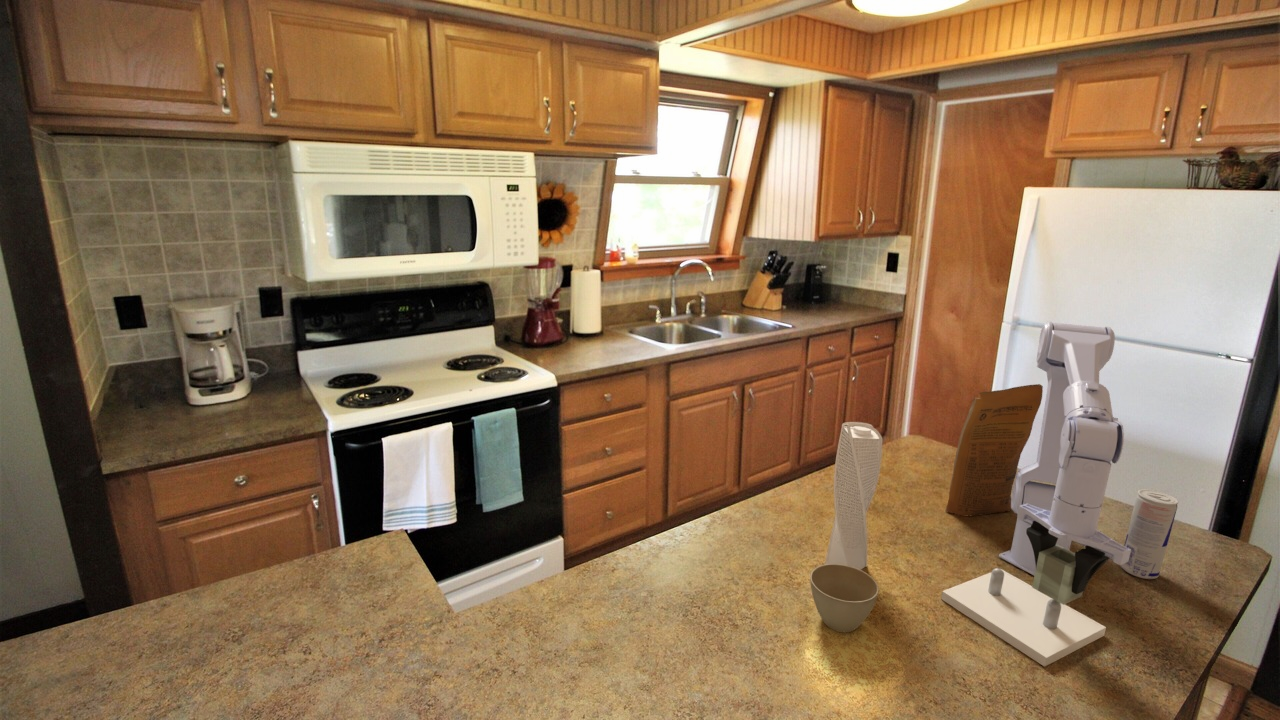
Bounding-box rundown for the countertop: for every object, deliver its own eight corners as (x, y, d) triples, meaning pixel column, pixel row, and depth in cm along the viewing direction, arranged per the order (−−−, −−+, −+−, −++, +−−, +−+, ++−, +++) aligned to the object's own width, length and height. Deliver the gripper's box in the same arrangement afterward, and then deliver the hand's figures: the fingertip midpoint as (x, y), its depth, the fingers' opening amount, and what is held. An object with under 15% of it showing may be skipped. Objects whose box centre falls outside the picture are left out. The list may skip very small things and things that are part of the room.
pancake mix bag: (1032, 514, 133) (1057, 387, 126) (954, 523, 129) (976, 392, 121) (1007, 499, 139) (1030, 377, 132) (932, 507, 135) (952, 382, 128)
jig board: (998, 576, 111) (1004, 546, 109) (1103, 635, 96) (1112, 602, 95) (941, 599, 104) (946, 567, 103) (1044, 666, 89) (1052, 631, 88)
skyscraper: (851, 584, 108) (871, 430, 100) (814, 564, 113) (829, 417, 106) (875, 567, 113) (895, 419, 105) (838, 549, 118) (855, 408, 111)
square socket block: (1050, 579, 97) (1057, 545, 96) (1081, 596, 93) (1090, 560, 92) (1032, 587, 95) (1039, 552, 94) (1063, 604, 91) (1071, 568, 90)
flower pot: (872, 609, 101) (878, 570, 99) (873, 650, 92) (879, 608, 90) (808, 596, 104) (812, 557, 102) (803, 634, 95) (807, 593, 93)
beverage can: (1165, 583, 110) (1186, 505, 106) (1129, 578, 111) (1149, 501, 107) (1147, 565, 115) (1167, 490, 111) (1113, 561, 116) (1131, 486, 112)
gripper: (1011, 483, 95) (996, 562, 98) (1118, 528, 82) (1096, 617, 86) (1040, 474, 98) (1024, 552, 101) (1147, 517, 85) (1124, 603, 89)
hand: (1059, 581), depth 94 cm, fingers closed on square socket block, 5 cm apart
